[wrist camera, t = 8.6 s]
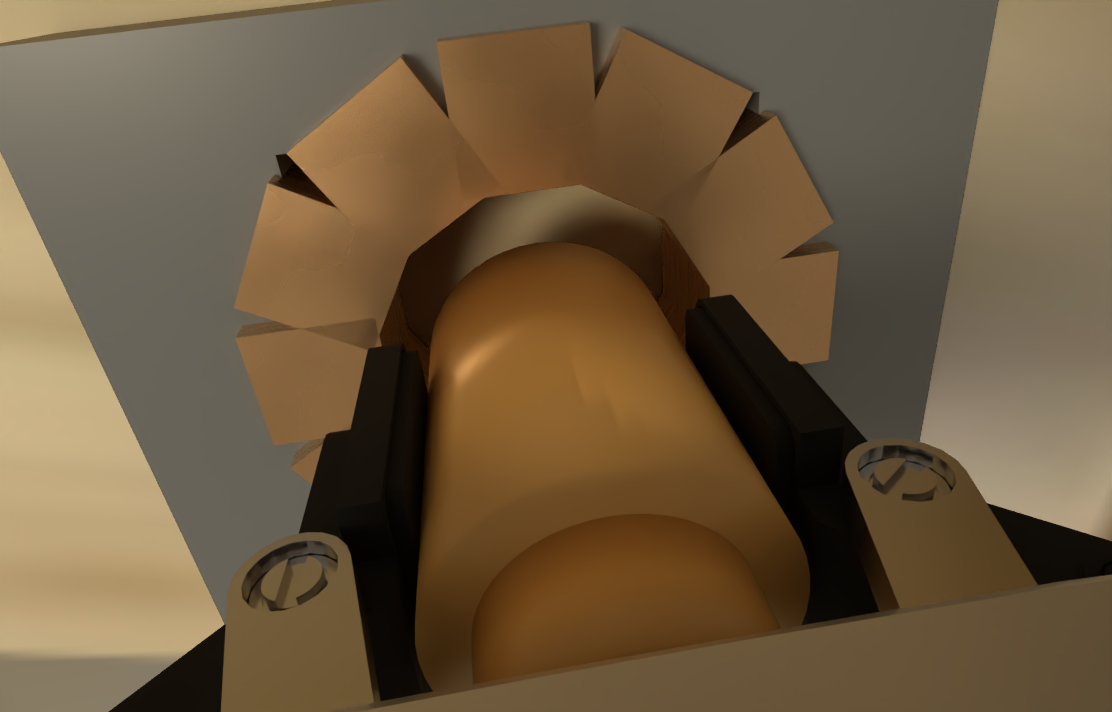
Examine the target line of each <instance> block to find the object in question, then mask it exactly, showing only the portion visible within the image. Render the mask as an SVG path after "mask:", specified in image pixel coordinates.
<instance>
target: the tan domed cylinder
mask: <svg viewBox="0 0 1112 712" xmlns="http://www.w3.org/2000/svg"><path fill="white" fill-rule="evenodd" d="M809 595H810V572H809V566H808V561H807V556H806V553H805V551H804V548H803V546H802V543H801V540H800V538H799V537H798V535H797V533H796V532H795V530H794V528H793V527H792V525H791V524H790V522H789V520H788V519H787V517H786V515H785V514H784V512H783V510H782V509H781V507H780V505H779V504H778V502H777V500H776V499H775V497H774V495H773V494H772V492H771V491H770V489H769V487H768V486H767V484H766V482H765V481H764V479H763V477H762V476H761V474H760V472H759V471H758V469H757V467H756V466H755V464H754V462H753V461H752V459H751V457H750V456H749V454H748V453H747V451H746V449H745V448H744V446H743V444H742V443H741V441H740V439H739V438H738V436H737V434H736V433H735V431H734V429H733V428H732V426H731V424H730V423H729V421H728V420H727V418H726V416H725V415H724V413H723V411H722V410H721V408H720V406H719V405H718V403H717V401H716V400H715V398H714V396H713V395H712V393H711V391H710V390H709V388H708V386H707V385H706V383H705V382H704V380H703V378H702V377H701V375H700V373H699V372H698V370H697V368H696V367H695V365H694V363H693V362H692V360H691V358H690V357H689V355H688V353H687V352H686V350H685V349H684V347H683V345H682V344H681V342H680V340H679V339H678V337H677V335H676V334H675V332H674V330H673V329H672V327H671V325H670V324H669V322H668V320H667V319H666V317H665V315H664V314H663V312H662V311H661V309H660V307H659V306H658V304H657V302H656V301H655V299H654V297H653V296H652V294H651V292H650V291H649V289H648V288H647V286H646V285H645V284H644V282H643V281H642V280H641V279H640V278H639V276H638V275H637V274H636V273H634V272H633V271H632V270H631V269H630V268H629V267H628V266H627V265H625V264H624V263H622V262H621V261H619V260H618V259H616V258H615V257H613V256H611V255H609V254H606V253H604V252H602V251H600V250H597V249H594V248H591V247H588V246H585V245H579V244H573V243H566V242H544V243H534V244H529V245H524V246H519V247H516V248H514V249H511V250H508V251H505V252H502V253H500V254H498V255H496V256H494V257H492V258H490V259H488V260H487V261H485V262H484V263H482V264H480V265H479V266H477V267H476V268H475V269H473V270H472V271H471V272H470V273H469V274H468V275H466V276H465V277H464V278H463V279H462V280H461V281H460V282H459V283H458V284H457V286H456V287H455V288H454V289H453V290H452V292H451V293H450V294H449V296H448V297H447V299H446V300H445V302H444V304H443V306H442V308H441V310H440V312H439V314H438V316H437V319H436V322H435V325H434V328H433V332H432V338H431V345H430V363H429V381H428V402H427V420H426V438H425V456H424V474H423V492H422V511H421V529H420V547H419V563H418V579H417V597H416V615H415V646H416V652H417V657H418V662H419V664H420V667H421V669H422V672H423V675H424V677H425V679H426V681H427V682H428V684H429V686H430V687H431V689H432V690H433V692H434V691H439V690H445V689H450V688H456V687H461V686H466V685H472V684H477V683H483V682H488V681H494V680H499V679H504V678H510V677H515V676H521V675H526V674H532V673H537V672H542V671H548V670H553V669H559V668H565V667H570V666H576V665H581V664H587V663H593V662H598V661H604V660H609V659H615V658H620V657H626V656H632V655H637V654H643V653H648V652H654V651H659V650H665V649H671V648H676V647H682V646H688V645H693V644H699V643H704V642H710V641H716V640H721V639H727V638H733V637H738V636H744V635H750V634H755V633H761V632H767V631H772V630H778V629H783V628H789V627H795V626H801V625H802V622H803V620H804V617H805V614H806V611H807V606H808V600H809Z"/></svg>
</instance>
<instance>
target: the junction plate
mask: <svg viewBox="0 0 1112 712" xmlns="http://www.w3.org/2000/svg"><path fill="white" fill-rule="evenodd" d="M998 1H999V0H333V1H324V2H316V3H307V4H299V5H291V6H282V7H274V8H265V9H257V10H248V11H240V12H232V13H223V14H215V15H206V16H198V17H189V18H181V19H172V20H164V21H156V22H147V23H139V24H130V25H122V26H113V27H105V28H97V29H88V30H80V31H71V32H63V33H54V34H49V35H43V36H38V37H32V38H27V39H21V40H16V41H11V42H5V43H0V152H1V154H2V156H3V158H4V160H5V162H6V164H7V167H8V169H9V171H10V173H11V175H12V177H13V179H14V181H15V183H16V186H17V188H18V190H19V192H20V194H21V196H22V198H23V200H24V202H25V205H26V207H27V209H28V211H29V213H30V215H31V217H32V219H33V221H34V223H35V226H36V228H37V230H38V232H39V234H40V236H41V238H42V240H43V242H44V245H45V247H46V249H47V251H48V253H49V255H50V257H51V259H52V261H53V264H54V266H55V268H56V270H57V272H58V274H59V276H60V278H61V280H62V282H63V285H64V287H65V289H66V291H67V293H68V295H69V297H70V299H71V301H72V304H73V306H74V308H75V310H76V312H77V314H78V316H79V318H80V320H81V323H82V325H83V327H84V329H85V331H86V333H87V335H88V337H89V339H90V341H91V344H92V346H93V348H94V350H95V352H96V354H97V356H98V358H99V360H100V363H101V365H102V367H103V369H104V371H105V373H106V375H107V377H108V379H109V382H110V384H111V386H112V388H113V390H114V392H115V394H116V396H117V398H118V400H119V403H120V405H121V407H122V409H123V411H124V413H125V415H126V417H127V419H128V422H129V424H130V426H131V428H132V430H133V432H134V434H135V436H136V438H137V441H138V443H139V445H140V447H141V449H142V451H143V453H144V455H145V457H146V459H147V462H148V464H149V466H150V468H151V470H152V472H153V474H154V476H155V478H156V481H157V483H158V485H159V487H160V489H161V491H162V493H163V495H164V497H165V500H166V502H167V504H168V506H169V508H170V510H171V512H172V514H173V516H174V518H175V521H176V523H177V525H178V527H179V529H180V531H181V533H182V535H183V537H184V540H185V542H186V544H187V546H188V548H189V550H190V552H191V554H192V556H193V559H194V561H195V563H196V565H197V567H198V569H199V571H200V573H201V575H202V577H203V580H204V582H205V584H206V586H207V588H208V590H209V592H210V594H211V596H212V599H213V601H214V603H215V605H216V607H217V609H218V611H219V613H220V615H221V618H222V620H223V622H224V624H226V612H227V595H228V590H229V587H230V583H231V580H232V578H233V577H234V575H235V574H236V572H237V571H238V569H239V568H240V566H241V565H242V564H243V563H245V562H246V561H247V560H248V559H249V558H250V557H251V556H252V555H253V554H254V553H256V552H257V551H259V550H261V549H262V548H264V547H265V546H267V545H269V544H270V543H272V542H275V541H277V540H280V539H282V538H285V537H287V536H291V535H296V534H299V530H300V527H301V523H302V519H303V515H304V512H305V508H306V504H307V501H308V497H309V493H310V489H311V486H312V485H311V484H310V483H309V482H307V481H306V480H305V479H304V478H302V477H301V476H300V475H299V474H297V473H296V472H295V471H294V470H292V469H291V468H290V467H291V464H292V461H293V458H294V455H295V452H296V451H298V450H299V449H301V448H302V447H303V446H305V445H306V444H307V443H309V442H310V441H312V440H308V441H301V442H295V443H289V444H282V445H276V446H274V444H273V441H272V439H271V436H270V433H269V430H268V427H267V425H266V422H265V419H264V416H263V414H262V411H261V408H260V405H259V403H258V400H257V397H256V394H255V392H254V389H253V386H252V383H251V381H250V378H249V375H248V372H247V369H246V367H245V364H244V361H243V358H242V356H241V353H240V350H239V347H238V345H237V342H236V339H235V338H236V336H237V334H238V333H239V331H240V329H241V327H242V326H243V325H249V324H256V323H263V322H270V321H273V320H270V319H267V318H264V317H261V316H257V315H254V314H251V313H248V312H245V311H241V310H238V309H235V308H234V305H235V301H236V298H237V294H238V290H239V287H240V283H241V279H242V276H243V272H244V268H245V265H246V261H247V257H248V254H249V250H250V246H251V242H252V239H253V235H254V231H255V228H256V224H257V220H258V217H259V213H260V209H261V206H262V202H263V198H264V195H265V191H266V187H267V183H268V182H269V181H270V179H271V178H272V177H273V176H274V175H277V176H280V177H283V175H284V174H285V173H286V171H287V170H288V169H289V168H290V166H291V165H292V164H293V163H294V161H293V160H292V159H291V158H290V157H289V156H288V155H287V152H288V151H289V150H290V149H291V148H292V146H294V145H295V144H296V143H297V142H298V141H299V140H301V139H302V138H303V137H304V136H305V135H307V134H308V133H309V132H310V131H311V130H313V129H314V128H315V127H316V126H317V125H318V124H320V123H321V122H322V121H323V120H324V119H326V118H327V117H328V116H329V115H330V114H332V113H333V112H334V111H335V110H336V109H338V108H339V107H340V106H341V105H342V104H343V103H345V102H346V101H347V100H348V99H349V98H351V97H352V96H353V95H354V94H355V93H357V92H358V91H359V90H360V89H361V88H362V87H364V86H365V85H366V84H367V83H368V82H370V81H371V80H372V79H373V78H374V77H376V76H377V75H378V74H379V73H380V72H381V71H383V70H384V69H385V68H386V67H387V66H389V65H390V64H391V63H392V62H393V61H395V60H396V59H397V58H398V57H399V56H400V55H402V54H403V55H404V56H405V57H406V59H407V60H408V61H409V63H410V64H411V65H412V66H413V68H414V69H415V70H416V72H417V73H418V74H419V75H420V77H421V78H422V79H423V80H424V82H425V83H426V84H427V86H428V87H429V88H430V89H431V91H432V92H433V93H434V95H435V96H436V97H437V98H438V100H439V101H440V102H441V103H442V105H443V106H444V107H445V109H446V110H447V104H446V98H445V92H444V86H443V80H442V74H441V68H440V62H439V56H438V50H437V44H436V40H437V39H440V38H448V37H456V36H464V35H472V34H480V33H489V32H497V31H505V30H513V29H521V28H529V27H537V26H546V25H554V24H562V23H570V22H578V21H586V22H588V23H590V31H591V45H592V59H593V73H594V85H595V83H596V81H597V79H598V76H599V74H600V72H601V69H602V67H603V65H604V63H605V60H606V58H607V56H608V54H609V51H610V49H611V47H612V44H613V42H614V40H615V38H616V35H617V33H618V31H619V29H620V27H622V28H624V29H627V30H629V31H631V32H633V33H635V34H637V35H639V36H641V37H643V38H645V39H647V40H649V41H651V42H653V43H655V44H657V45H659V46H661V47H663V48H665V49H667V50H669V51H671V52H673V53H675V54H677V55H679V56H681V57H683V58H685V59H687V60H689V61H691V62H693V63H695V64H697V65H699V66H701V67H703V68H705V69H707V70H709V71H711V72H713V73H715V74H717V75H719V76H721V77H723V78H725V79H727V80H729V81H731V82H733V83H735V84H737V85H739V86H741V87H743V88H745V89H747V90H749V91H751V92H753V93H752V95H751V97H750V99H749V101H748V103H747V105H746V108H748V109H750V110H752V111H754V112H756V113H757V114H760V113H761V112H762V111H764V110H766V111H768V112H770V113H772V114H774V115H776V116H777V118H778V120H779V121H780V123H781V125H782V127H783V129H784V131H785V133H786V135H787V136H788V138H789V140H790V142H791V144H792V146H793V148H794V149H795V151H796V153H797V155H798V157H799V159H800V161H801V163H802V164H803V166H804V168H805V170H806V172H807V174H808V176H809V177H810V179H811V181H812V183H813V185H814V187H815V189H816V191H817V192H818V194H819V196H820V198H821V200H822V202H823V204H824V206H825V207H826V209H827V211H828V213H829V215H830V217H831V219H832V220H833V222H834V223H832V224H831V225H829V226H828V227H826V228H825V229H823V230H822V231H820V232H819V233H817V234H816V235H815V236H813V237H812V238H810V239H809V240H807V241H806V242H804V243H803V244H801V245H804V244H811V243H818V242H825V241H827V242H828V243H829V244H831V245H832V246H833V247H835V248H836V249H837V250H839V254H838V265H837V275H836V285H835V296H834V306H833V316H832V327H831V337H830V347H829V358H828V360H826V361H820V362H813V363H807V364H801V365H802V366H803V367H804V369H805V370H806V371H807V372H808V373H809V374H810V375H811V377H812V378H813V379H814V380H815V381H816V382H817V383H818V385H819V386H820V387H821V388H822V389H823V390H824V391H825V393H826V394H827V395H828V396H829V397H830V398H831V399H832V401H833V402H834V403H835V404H836V405H837V406H838V407H839V409H840V410H841V411H842V412H843V413H844V414H845V415H846V417H847V418H848V419H849V420H850V421H851V422H852V424H853V425H854V426H855V427H856V428H857V429H858V430H859V432H860V433H861V434H862V435H863V436H864V437H865V438H866V440H867V441H871V440H877V439H885V438H895V439H908V440H912V441H917V442H919V441H920V436H921V430H922V424H923V419H924V413H925V408H926V402H927V397H928V391H929V385H930V380H931V374H932V369H933V363H934V358H935V352H936V346H937V341H938V335H939V330H940V324H941V319H942V313H943V307H944V302H945V296H946V291H947V285H948V280H949V274H950V268H951V263H952V257H953V252H954V246H955V241H956V235H957V229H958V224H959V218H960V213H961V207H962V202H963V196H964V190H965V185H966V179H967V174H968V168H969V163H970V157H971V151H972V146H973V140H974V135H975V129H976V124H977V118H978V112H979V107H980V101H981V96H982V90H983V85H984V79H985V73H986V68H987V62H988V57H989V51H990V46H991V40H992V34H993V29H994V23H995V18H996V12H997V7H998ZM447 111H448V110H447Z"/></svg>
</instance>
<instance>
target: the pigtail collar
mask: <svg viewBox="0 0 1112 712" xmlns="http://www.w3.org/2000/svg"><path fill="white" fill-rule="evenodd" d="M436 44H437V50H438V56H439V62H440V68H441V74H442V80H443V86H444V92H445V98H446V104H447V110H448V111H447V110H446V109H445V107H444V106H443V105H442V103H441V102H440V101H439V100H438V98H437V97H436V96H435V95H434V93H433V92H432V91H431V89H430V88H429V87H428V86H427V84H426V83H425V82H424V80H423V79H422V78H421V77H420V75H419V74H418V73H417V72H416V70H415V69H414V68H413V66H412V65H411V64H410V63H409V61H408V60H407V59H406V57H405V56H404V55H403V54H402V55H400V56H399V57H398V58H397V59H396V60H395V61H393V62H392V63H391V64H390V65H389V66H387V67H386V68H385V69H384V70H383V71H381V72H380V73H379V74H378V75H377V76H376V77H374V78H373V79H372V80H371V81H370V82H368V83H367V84H366V85H365V86H364V87H362V88H361V89H360V90H359V91H358V92H357V93H355V94H354V95H353V96H352V97H351V98H349V99H348V100H347V101H346V102H345V103H343V104H342V105H341V106H340V107H339V108H338V109H336V110H335V111H334V112H333V113H332V114H330V115H329V116H328V117H327V118H326V119H324V120H323V121H322V122H321V123H320V124H318V125H317V126H316V127H315V128H314V129H313V130H311V131H310V132H309V133H308V134H307V135H305V136H304V137H303V138H302V139H301V140H299V141H298V142H297V143H296V144H295V145H294V146H292V148H291V149H290V150H289V151H288V152H287V155H288V156H289V157H290V158H291V159H292V160H293V161H294V163H293V164H292V165H291V166H290V168H289V169H288V170H287V171H286V173H285V174H284V175H283V177H280V176H277V175H274V176H273V177H272V178H271V179H270V181H269V182H268V183H267V187H266V191H265V195H264V198H263V202H262V206H261V209H260V213H259V217H258V220H257V224H256V228H255V231H254V235H253V239H252V242H251V246H250V250H249V254H248V257H247V261H246V265H245V268H244V272H243V276H242V279H241V283H240V287H239V290H238V294H237V298H236V301H235V305H234V308H235V309H238V310H241V311H245V312H248V313H251V314H254V315H257V316H261V317H264V318H267V319H270V320H273V321H270V322H263V323H256V324H249V325H243V326H242V327H241V329H240V331H239V333H238V334H237V336H236V338H235V339H236V342H237V345H238V347H239V350H240V353H241V356H242V358H243V361H244V364H245V367H246V369H247V372H248V375H249V378H250V381H251V383H252V386H253V389H254V392H255V394H256V397H257V400H258V403H259V405H260V408H261V411H262V414H263V416H264V419H265V422H266V425H267V427H268V430H269V433H270V436H271V439H272V441H273V444H274V446H276V445H282V444H289V443H295V442H301V441H308V440H312V441H310V442H309V443H307V444H306V445H305V446H303V447H302V448H301V449H299V450H298V451H296V452H295V455H294V458H293V461H292V464H291V467H290V468H291V469H292V470H294V471H295V472H296V473H297V474H299V475H300V476H301V477H302V478H304V479H305V480H306V481H307V482H309V483H310V484H311V485H312V482H313V478H314V475H315V471H316V467H317V463H318V460H319V456H320V452H321V449H322V445H323V441H324V438H325V436H326V434H328V433H330V432H337V431H343V430H350V429H351V424H352V420H353V415H354V411H355V406H356V401H357V397H358V392H359V388H360V383H361V378H362V374H363V369H364V365H365V360H366V356H367V351H368V349H369V348H373V347H380V346H386V345H393V344H400V343H403V344H404V346H405V348H406V351H412V350H418V353H419V356H420V360H421V364H422V369H423V373H424V378H425V382H426V387H427V391H428V381H429V363H430V350H429V349H428V348H427V347H426V346H425V345H424V344H423V343H422V342H421V341H420V340H419V339H418V338H417V337H416V336H415V335H414V334H413V333H412V332H411V331H410V330H409V329H408V326H407V322H406V317H405V313H404V308H403V304H402V300H401V295H400V291H399V286H398V283H399V280H400V278H401V275H402V272H403V270H404V267H405V264H406V262H407V259H408V256H409V255H410V254H411V253H413V252H414V251H415V250H417V249H418V248H419V247H420V246H422V245H423V244H424V243H426V242H427V241H428V240H430V239H431V238H432V237H433V236H435V235H436V234H437V233H439V232H440V231H441V230H443V229H444V228H445V227H446V226H448V225H449V224H450V223H452V222H453V221H454V220H456V219H457V218H458V217H459V216H461V215H462V214H463V213H465V212H466V211H467V210H469V209H470V208H471V207H472V206H474V205H475V204H476V203H478V202H479V201H480V200H482V199H483V198H485V197H492V196H500V195H507V194H514V193H522V192H529V191H536V190H544V189H551V188H558V187H566V186H573V185H580V184H581V185H583V186H585V187H588V188H590V189H593V190H595V191H597V192H600V193H602V194H605V195H607V196H609V197H612V198H614V199H616V200H619V201H621V202H624V203H626V204H628V205H631V206H633V207H636V208H638V209H640V210H643V211H645V212H648V213H650V214H652V215H655V217H656V218H657V220H658V221H659V223H660V224H661V228H662V260H663V293H662V294H661V296H660V298H659V300H658V302H657V304H658V306H659V307H660V309H661V311H662V312H663V314H664V315H665V317H666V319H667V320H668V322H669V324H670V325H671V327H672V329H673V330H674V332H675V334H676V335H677V337H678V339H679V340H680V342H681V344H682V345H683V347H684V349H685V350H686V339H685V314H686V311H687V309H694V308H695V306H696V302H697V300H698V299H703V298H710V297H717V296H723V295H730V294H732V295H733V296H734V297H735V298H736V299H737V300H738V302H739V303H740V304H741V305H742V306H743V307H744V309H745V310H746V311H747V312H748V313H749V314H750V316H751V317H752V318H753V319H754V320H755V322H756V323H757V324H758V325H759V326H760V327H761V329H762V330H763V331H764V332H765V333H766V334H767V336H768V337H769V338H770V339H771V340H772V342H773V343H774V344H775V345H776V346H777V347H778V349H779V350H780V351H781V352H782V353H783V355H784V356H785V357H786V358H787V359H788V360H789V361H797V362H798V363H799V364H807V363H813V362H820V361H826V360H828V358H829V347H830V337H831V327H832V316H833V306H834V296H835V285H836V275H837V265H838V254H839V250H837V249H836V248H835V247H833V246H832V245H831V244H829V243H828V242H827V241H825V242H818V243H811V244H804V245H801V244H803V243H804V242H806V241H807V240H809V239H810V238H812V237H813V236H815V235H816V234H817V233H819V232H820V231H822V230H823V229H825V228H826V227H828V226H829V225H831V224H832V223H834V222H833V220H832V219H831V217H830V215H829V213H828V211H827V209H826V207H825V206H824V204H823V202H822V200H821V198H820V196H819V194H818V192H817V191H816V189H815V187H814V185H813V183H812V181H811V179H810V177H809V176H808V174H807V172H806V170H805V168H804V166H803V164H802V163H801V161H800V159H799V157H798V155H797V153H796V151H795V149H794V148H793V146H792V144H791V142H790V140H789V138H788V136H787V135H786V133H785V131H784V129H783V127H782V125H781V123H780V121H779V120H778V118H777V116H776V115H774V114H772V113H770V112H768V111H766V110H764V111H762V112H761V113H760V114H757V113H756V112H754V111H752V110H750V109H748V108H746V105H747V103H748V101H749V99H750V97H751V95H752V93H753V92H751V91H749V90H747V89H745V88H743V87H741V86H739V85H737V84H735V83H733V82H731V81H729V80H727V79H725V78H723V77H721V76H719V75H717V74H715V73H713V72H711V71H709V70H707V69H705V68H703V67H701V66H699V65H697V64H695V63H693V62H691V61H689V60H687V59H685V58H683V57H681V56H679V55H677V54H675V53H673V52H671V51H669V50H667V49H665V48H663V47H661V46H659V45H657V44H655V43H653V42H651V41H649V40H647V39H645V38H643V37H641V36H639V35H637V34H635V33H633V32H631V31H629V30H627V29H624V28H622V27H620V29H619V31H618V33H617V35H616V38H615V40H614V42H613V44H612V47H611V49H610V51H609V54H608V56H607V58H606V60H605V63H604V65H603V67H602V69H601V72H600V74H599V76H598V79H597V81H596V83H595V85H594V73H593V59H592V45H591V31H590V23H588V22H586V21H578V22H570V23H562V24H554V25H546V26H537V27H529V28H521V29H513V30H505V31H497V32H489V33H480V34H472V35H464V36H456V37H448V38H440V39H437V40H436Z"/></svg>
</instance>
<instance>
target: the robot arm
mask: <svg viewBox="0 0 1112 712" xmlns="http://www.w3.org/2000/svg"><path fill="white" fill-rule="evenodd" d="M685 339H686V352H687V353H688V355H689V357H690V358H691V360H692V362H693V363H694V365H695V367H696V368H697V370H698V372H699V373H700V375H701V377H702V378H703V380H704V382H705V383H706V385H707V386H708V388H709V390H710V391H711V393H712V395H713V396H714V398H715V400H716V401H717V403H718V405H719V406H720V408H721V410H722V411H723V413H724V415H725V416H726V418H727V420H728V421H729V423H730V424H731V426H732V428H733V429H734V431H735V433H736V434H737V436H738V438H739V439H740V441H741V443H742V444H743V446H744V448H745V449H746V451H747V453H748V454H749V456H750V457H751V459H752V461H753V462H754V464H755V466H756V467H757V469H758V471H759V472H760V474H761V476H762V477H763V479H764V481H765V482H766V484H767V486H768V487H769V489H770V491H771V492H772V494H773V495H774V497H775V499H776V500H777V502H778V504H779V505H780V507H781V509H782V510H783V512H784V514H785V515H786V517H787V519H788V520H789V522H790V524H791V525H792V527H793V528H794V530H795V532H796V533H797V535H798V537H799V538H800V540H801V543H802V546H803V548H804V551H805V553H806V556H807V561H808V566H809V572H810V595H809V600H808V606H807V611H806V614H805V617H804V620H803V622H802V625H801V626H795V627H789V628H783V629H778V630H772V631H767V632H761V633H755V634H750V635H744V636H738V637H733V638H727V639H721V640H716V641H710V642H704V643H699V644H693V645H688V646H682V647H676V648H671V649H665V650H659V651H654V652H648V653H643V654H637V655H632V656H626V657H620V658H615V659H609V660H604V661H598V662H593V663H587V664H581V665H576V666H570V667H565V668H559V669H553V670H548V671H542V672H537V673H532V674H526V675H521V676H515V677H510V678H504V679H499V680H494V681H488V682H483V683H477V684H472V685H466V686H461V687H456V688H450V689H445V690H439V691H434V692H433V690H432V689H431V687H430V686H429V684H428V682H427V681H426V679H425V677H424V675H423V672H422V669H421V667H420V664H419V662H418V657H417V652H416V646H415V615H416V597H417V579H418V563H419V547H420V529H421V511H422V492H423V474H424V456H425V438H426V420H427V402H428V391H427V387H426V382H425V378H424V373H423V369H422V364H421V360H420V356H419V353H418V350H412V351H406V348H405V346H404V344H403V343H400V344H393V345H386V346H380V347H373V348H369V349H368V351H367V356H366V360H365V365H364V369H363V374H362V378H361V383H360V388H359V392H358V397H357V401H356V406H355V411H354V415H353V420H352V424H351V429H350V430H343V431H337V432H330V433H328V434H326V436H325V438H324V441H323V445H322V449H321V452H320V456H319V460H318V463H317V467H316V471H315V475H314V478H313V482H312V486H311V489H310V493H309V497H308V501H307V504H306V508H305V512H304V515H303V519H302V523H301V527H300V530H299V534H296V535H291V536H287V537H285V538H282V539H280V540H277V541H275V542H272V543H270V544H269V545H267V546H265V547H264V548H262V549H261V550H259V551H257V552H256V553H254V554H253V555H252V556H251V557H250V558H249V559H248V560H247V561H246V562H245V563H243V564H242V565H241V566H240V568H239V569H238V571H237V572H236V574H235V575H234V577H233V578H232V580H231V583H230V587H229V590H228V595H227V612H226V624H225V625H224V626H222V627H221V628H220V629H218V630H217V631H216V632H214V633H213V634H212V635H210V636H209V637H208V638H206V639H205V640H204V641H202V642H201V643H200V644H198V645H197V646H196V647H194V648H193V649H192V650H190V651H189V652H188V653H186V654H185V655H184V656H182V657H181V658H180V659H178V660H177V661H176V662H174V663H173V664H172V665H170V666H169V667H168V668H166V669H165V670H164V671H162V672H161V673H160V674H158V675H157V676H156V677H154V678H153V679H152V680H151V681H149V682H148V683H146V684H145V685H144V686H142V687H141V688H140V689H138V690H137V691H136V692H134V693H133V694H132V695H131V696H129V697H128V698H126V699H125V700H124V701H122V702H121V703H120V704H118V705H117V706H116V707H114V708H113V709H112V710H110V711H109V712H1112V541H1109V540H1106V539H1102V538H1099V537H1096V536H1092V535H1089V534H1086V533H1083V532H1079V531H1076V530H1073V529H1070V528H1066V527H1063V526H1060V525H1056V524H1053V523H1050V522H1047V521H1043V520H1040V519H1037V518H1034V517H1030V516H1027V515H1024V514H1021V513H1017V512H1014V511H1011V510H1007V509H1004V508H1001V507H998V506H994V505H991V504H988V503H986V501H985V500H984V498H983V497H982V495H981V493H980V492H979V490H978V489H977V487H976V486H975V484H974V482H973V481H972V479H971V478H970V476H969V474H968V473H967V471H966V470H965V469H964V468H963V467H962V465H961V464H960V463H959V462H958V461H957V460H956V459H955V458H953V457H951V456H950V455H948V454H947V453H945V452H944V451H942V450H940V449H938V448H935V447H933V446H930V445H928V444H925V443H921V442H917V441H912V440H908V439H895V438H885V439H877V440H871V441H867V440H866V438H865V437H864V436H863V435H862V434H861V433H860V432H859V430H858V429H857V428H856V427H855V426H854V425H853V424H852V422H851V421H850V420H849V419H848V418H847V417H846V415H845V414H844V413H843V412H842V411H841V410H840V409H839V407H838V406H837V405H836V404H835V403H834V402H833V401H832V399H831V398H830V397H829V396H828V395H827V394H826V393H825V391H824V390H823V389H822V388H821V387H820V386H819V385H818V383H817V382H816V381H815V380H814V379H813V378H812V377H811V375H810V374H809V373H808V372H807V371H806V370H805V369H804V367H803V366H802V365H801V364H799V363H798V362H797V361H789V360H788V359H787V358H786V357H785V356H784V355H783V353H782V352H781V351H780V350H779V349H778V347H777V346H776V345H775V344H774V343H773V342H772V340H771V339H770V338H769V337H768V336H767V334H766V333H765V332H764V331H763V330H762V329H761V327H760V326H759V325H758V324H757V323H756V322H755V320H754V319H753V318H752V317H751V316H750V314H749V313H748V312H747V311H746V310H745V309H744V307H743V306H742V305H741V304H740V303H739V302H738V300H737V299H736V298H735V297H734V296H733V295H732V294H730V295H723V296H717V297H710V298H703V299H698V300H697V302H696V306H695V308H694V309H687V311H686V314H685Z"/></svg>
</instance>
